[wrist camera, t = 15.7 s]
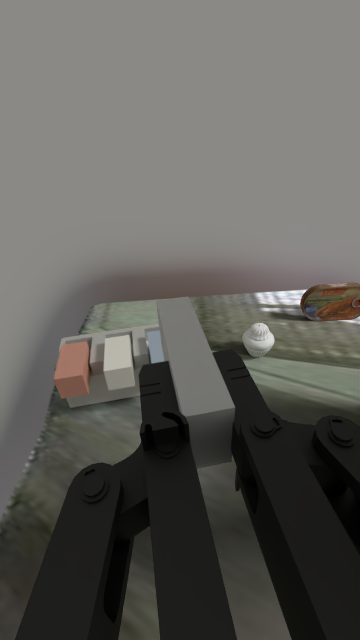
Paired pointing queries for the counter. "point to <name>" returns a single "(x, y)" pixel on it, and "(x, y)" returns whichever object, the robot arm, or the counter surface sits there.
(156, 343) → the blue-grey rectangular block
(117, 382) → the ivory key
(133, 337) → the grey slotted rack
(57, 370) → the terracotta key
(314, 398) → the counter surface
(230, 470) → the counter surface
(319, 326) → the counter surface
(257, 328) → the muffin
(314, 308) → the tin
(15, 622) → the counter surface
